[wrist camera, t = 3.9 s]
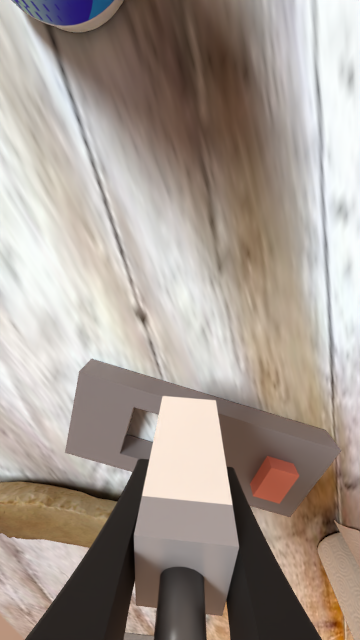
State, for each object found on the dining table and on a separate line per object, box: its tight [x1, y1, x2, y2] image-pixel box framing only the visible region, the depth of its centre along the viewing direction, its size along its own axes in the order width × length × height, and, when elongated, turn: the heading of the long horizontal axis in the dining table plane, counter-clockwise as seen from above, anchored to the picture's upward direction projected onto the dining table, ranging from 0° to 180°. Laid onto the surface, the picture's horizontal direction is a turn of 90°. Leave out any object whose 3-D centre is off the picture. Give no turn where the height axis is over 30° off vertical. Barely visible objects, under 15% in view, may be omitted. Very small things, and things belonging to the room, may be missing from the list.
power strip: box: [65, 359, 341, 517], centre depth 18 cm, size 22×9×3 cm, turn 73°
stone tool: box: [0, 482, 118, 548], centre depth 22 cm, size 12×4×25 cm
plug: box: [134, 396, 239, 640], centre depth 9 cm, size 3×4×8 cm
